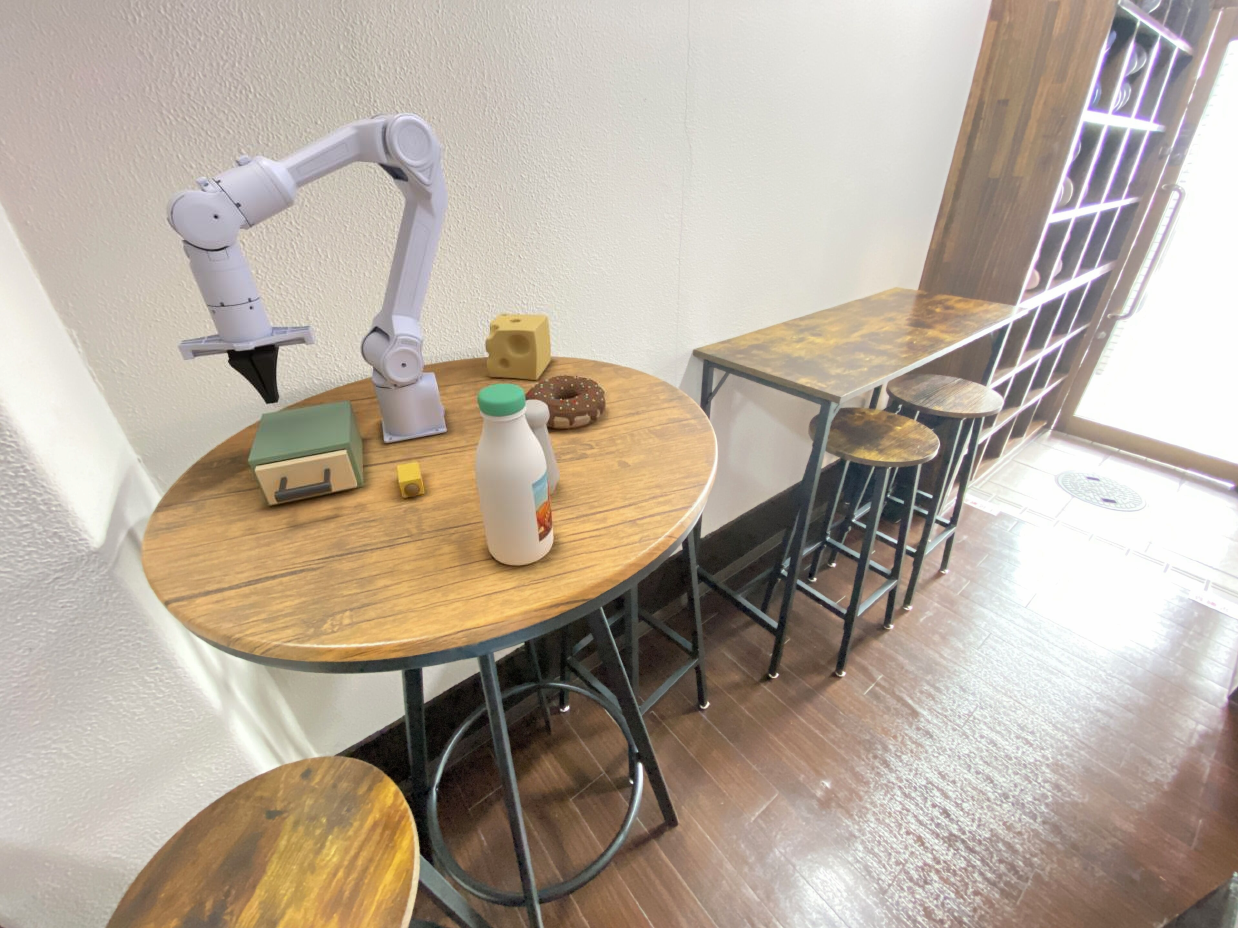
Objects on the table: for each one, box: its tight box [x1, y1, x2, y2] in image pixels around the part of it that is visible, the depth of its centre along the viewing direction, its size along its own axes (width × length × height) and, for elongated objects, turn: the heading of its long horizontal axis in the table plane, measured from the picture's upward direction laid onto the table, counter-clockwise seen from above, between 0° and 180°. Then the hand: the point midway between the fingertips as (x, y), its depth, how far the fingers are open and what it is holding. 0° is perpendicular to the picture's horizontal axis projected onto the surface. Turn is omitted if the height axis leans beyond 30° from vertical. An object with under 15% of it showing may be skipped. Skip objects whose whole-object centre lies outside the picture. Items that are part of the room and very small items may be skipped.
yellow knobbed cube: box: [396, 461, 426, 499], centre depth 73 cm, size 3×6×3 cm, turn 22°
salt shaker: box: [524, 400, 561, 496], centre depth 69 cm, size 6×6×13 cm
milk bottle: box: [474, 382, 554, 566], centre depth 58 cm, size 8×8×20 cm
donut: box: [525, 374, 607, 430], centre depth 90 cm, size 14×14×5 cm
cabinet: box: [247, 399, 364, 507], centre depth 75 cm, size 14×12×7 cm
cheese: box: [484, 312, 552, 381], centre depth 105 cm, size 10×11×10 cm
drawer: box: [255, 449, 357, 506], centre depth 72 cm, size 17×10×5 cm, turn 23°
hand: (272, 400), depth 73 cm, fingers closed
